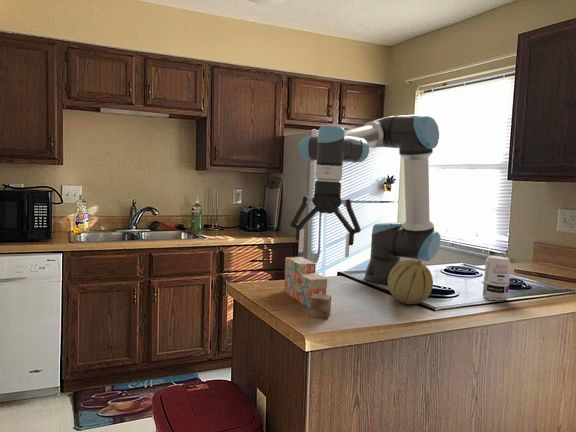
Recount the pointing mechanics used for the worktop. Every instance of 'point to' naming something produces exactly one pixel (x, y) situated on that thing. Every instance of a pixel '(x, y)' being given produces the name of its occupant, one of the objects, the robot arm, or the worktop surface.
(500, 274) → the supplement can
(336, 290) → the worktop surface
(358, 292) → the worktop surface
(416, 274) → the cantaloupe
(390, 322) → the worktop surface
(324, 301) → the walnut block
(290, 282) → the stack of blocks
